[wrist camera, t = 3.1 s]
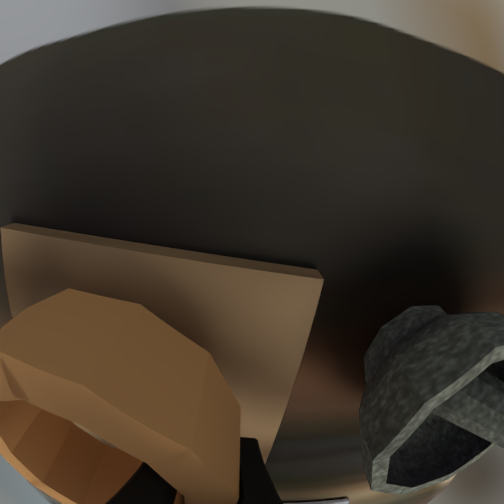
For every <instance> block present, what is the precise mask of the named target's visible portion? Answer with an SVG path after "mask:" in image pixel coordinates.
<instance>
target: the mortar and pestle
mask: <svg viewBox="0 0 504 504" xmlns="http://www.w3.org/2000/svg"><path fill="white" fill-rule="evenodd" d="M364 367H365V381H366V382H367V386H366V387H365V389H364V393H363V397H362V401H361V405H360V408H359V417H360V436H361V449H362V457H363V464H364V470H365V473H366V476H367V479H368V482H369V486H370V489H371V490H372V491H378V492H384V493H391V494H399V495H404V494H408V493H411V492H414V491H417V490H420V489H423V488H426V487H429V486H431V485H434V484H437V483H439V482H442V481H444V480H447V479H449V478H450V477H452V476H454V475H455V474H457V473H458V472H460V471H461V470H463V469H464V468H465V467H467V466H468V465H470V464H471V463H472V462H474V461H475V460H477V459H478V458H479V457H481V456H482V455H483V454H485V453H486V452H487V451H488V450H490V449H491V448H492V447H493V446H494V445H495V444H496V445H498V446H500V447H502V448H504V315H502V314H500V313H498V312H471V313H461V314H450V315H447V314H446V312H445V311H444V310H443V309H442V308H441V307H440V306H439V305H431V306H411V307H409V308H408V309H407V310H405V311H404V312H402V313H401V314H399V315H398V316H397V317H395V318H394V319H392V320H391V321H389V322H388V323H386V324H385V325H383V326H382V327H381V328H380V330H379V332H378V333H377V335H376V337H375V338H374V340H373V342H372V343H371V345H370V347H369V348H368V350H367V352H366V353H365V355H364Z"/></svg>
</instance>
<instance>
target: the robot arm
mask: <svg viewBox="0 0 504 504" xmlns="http://www.w3.org/2000/svg"><path fill="white" fill-rule="evenodd" d="M176 494H177V490H176V489H175V488H174V487H173V486H172V485H170V484H169V483H168V482H167V481H166V480H165V479H163V478H162V477H161V476H160V475H159V474H158V473H157V472H156V471H155V470H153V469H152V468H151V467H150V466H149V465H148V464H147V463H145V462H143V463H142V464H141V465H140V467H139V468H138V469H137V471H136V472H135V473H134V474H133V475H132V477H131V478H130V479H129V480H128V481H127V482H126V483H125V485H124V486H123V487H122V488H121V489H120V490H119V491H118V492H117V493H116V494H115V495H114V496H113V497H112V498H111V499H110V500H109V501H108V502H106V503H105V504H174V501H175V498H176ZM349 502H350V501H349V499H338V500H329V501H317V502H300V503H282V501H281V499H280V497H279V495H278V493H277V491H276V489H275V487H274V485H273V483H272V481H271V478H270V476H269V474H268V471H267V469H266V466H265V463H264V461H263V458H262V454H261V451H260V447H259V443H258V440H257V439H256V438H248V437H240V471H239V499H238V501H237V504H348V503H349Z"/></svg>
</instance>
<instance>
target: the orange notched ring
mask: <svg viewBox="0 0 504 504" xmlns="http://www.w3.org/2000/svg"><path fill="white" fill-rule="evenodd" d="M73 422H75V423H78V424H80V425H82V426H84V427H85V428H87V429H88V430H90V431H91V432H93V433H94V434H96V435H97V436H99V437H101V438H102V439H104V440H105V441H107V442H109V443H110V444H112V445H114V446H115V447H117V448H115V447H111V446H108V445H106V444H104V443H102V442H101V441H99V440H98V439H96V438H94V437H93V436H91V435H90V434H88V433H87V432H85V431H84V430H82V429H81V428H79V427H78V426H76V425H75V424H74V423H73ZM240 423H241V406H240V404H239V403H238V401H237V399H236V398H235V396H234V394H233V393H232V391H231V389H230V388H229V386H228V384H227V383H226V381H225V379H224V377H223V376H222V374H221V372H220V370H219V369H218V367H217V365H216V363H215V362H214V360H213V358H212V356H211V354H210V353H209V352H208V351H206V350H205V349H203V348H202V347H200V346H199V345H197V344H196V343H194V342H193V341H191V340H190V339H188V338H187V337H185V336H184V335H182V334H181V333H180V332H178V331H177V330H175V329H174V328H172V327H171V326H170V325H168V324H167V323H165V322H164V321H163V320H161V319H160V318H158V317H157V316H156V315H154V314H153V313H152V312H150V311H149V310H147V309H146V308H145V307H143V306H142V305H141V304H137V303H132V302H127V301H123V300H118V299H113V298H109V297H104V296H100V295H95V294H91V293H87V292H83V291H78V290H74V289H70V288H69V289H66V290H64V291H62V292H60V293H58V294H55V295H53V296H51V297H49V298H47V299H45V300H42V301H40V302H38V303H36V304H34V305H32V306H30V307H28V308H26V309H24V310H23V311H22V312H21V313H19V314H18V315H17V316H15V317H14V318H13V319H12V320H10V321H9V322H8V323H7V324H6V325H4V326H3V327H2V328H1V329H0V454H1V455H2V456H3V457H4V458H5V459H6V460H7V461H8V462H9V463H10V464H11V465H12V466H13V467H14V468H15V469H16V470H17V471H18V472H19V473H20V474H21V475H22V476H24V477H25V478H26V479H27V480H28V481H29V482H30V483H31V484H33V485H34V486H36V487H37V488H39V489H40V490H42V491H43V492H45V493H46V494H48V495H49V496H51V497H53V498H54V499H56V500H57V501H59V502H61V503H62V504H105V503H106V502H108V501H109V500H110V499H111V498H112V497H113V496H114V495H115V494H116V493H117V492H118V491H119V490H120V489H121V488H122V487H123V486H124V485H125V483H126V482H127V481H128V480H129V479H130V478H131V477H132V475H133V474H134V473H135V472H136V471H137V469H138V468H139V467H140V465H141V464H142V463H143V462H145V463H147V464H148V465H149V466H150V467H151V468H152V469H153V470H155V471H156V472H157V473H158V474H159V475H160V476H161V477H162V478H163V479H165V480H166V481H167V482H168V483H169V484H170V485H172V486H173V487H174V488H175V489H176V490H177V494H176V498H175V501H174V504H237V501H238V499H239V471H240ZM118 448H119V449H118Z"/></svg>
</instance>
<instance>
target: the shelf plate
mask: <svg viewBox="0 0 504 504" xmlns="http://www.w3.org/2000/svg"><path fill="white" fill-rule="evenodd" d="M1 242H2V254H3V264H4V273H5V280H6V287H7V293H8V299H9V305H10V310H11V315H12V319H13V318H14V317H15V316H17V315H18V314H19V313H21V312H22V311H23V310H24V309H26V308H28V307H30V306H32V305H34V304H36V303H38V302H40V301H42V300H45V299H47V298H49V297H51V296H53V295H55V294H58V293H60V292H62V291H64V290H66V289H69V288H70V289H74V290H78V291H83V292H87V293H91V294H95V295H100V296H104V297H109V298H113V299H118V300H123V301H127V302H132V303H137V304H141V305H142V306H143V307H145V308H146V309H147V310H149V311H150V312H152V313H153V314H154V315H156V316H157V317H158V318H160V319H161V320H163V321H164V322H165V323H167V324H168V325H170V326H171V327H172V328H174V329H175V330H177V331H178V332H180V333H181V334H182V335H184V336H185V337H187V338H188V339H190V340H191V341H193V342H194V343H196V344H197V345H199V346H200V347H202V348H203V349H205V350H206V351H208V352H209V353H210V354H211V356H212V358H213V360H214V362H215V363H216V365H217V367H218V369H219V370H220V372H221V374H222V376H223V377H224V379H225V381H226V383H227V384H228V386H229V388H230V389H231V391H232V393H233V394H234V396H235V398H236V399H237V401H238V403H239V404H240V406H241V423H240V437H248V438H256V439H257V440H258V443H259V447H260V451H261V454H262V458H263V461H264V463H266V461H267V458H268V456H269V453H270V450H271V448H272V445H273V442H274V440H275V437H276V434H277V432H278V429H279V426H280V423H281V421H282V418H283V415H284V412H285V409H286V406H287V403H288V400H289V397H290V394H291V391H292V388H293V385H294V382H295V379H296V376H297V373H298V370H299V367H300V363H301V360H302V357H303V354H304V350H305V347H306V344H307V340H308V337H309V333H310V330H311V326H312V323H313V319H314V316H315V312H316V308H317V305H318V301H319V297H320V293H321V289H322V285H323V281H324V279H323V277H322V276H321V274H320V273H319V271H318V270H316V269H309V268H303V267H296V266H289V265H282V264H275V263H268V262H262V261H255V260H248V259H241V258H235V257H228V256H221V255H215V254H208V253H201V252H195V251H188V250H182V249H175V248H169V247H162V246H156V245H149V244H143V243H137V242H130V241H124V240H118V239H111V238H105V237H99V236H92V235H86V234H80V233H74V232H67V231H61V230H55V229H49V228H43V227H37V226H31V225H25V224H19V223H12V224H9V225H7V226H4V227H1ZM73 423H74V424H75V425H76V426H78V427H79V428H81V429H82V430H84V431H85V432H87V433H88V434H90V435H91V436H93V437H94V438H96V439H98V440H99V441H101V442H102V443H104V444H106V445H108V446H111V447H115V446H114V445H112V444H110V443H109V442H107V441H105V440H104V439H102V438H101V437H99V436H97V435H96V434H94V433H93V432H91V431H90V430H88V429H87V428H85V427H84V426H82V425H80V424H78V423H75V422H73ZM115 448H117V447H115ZM118 449H119V448H118Z"/></svg>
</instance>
